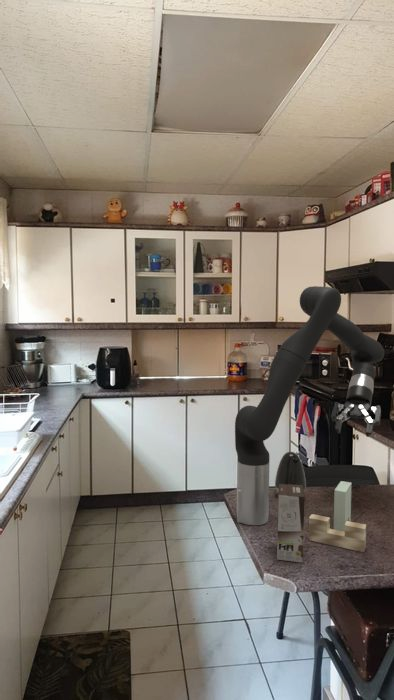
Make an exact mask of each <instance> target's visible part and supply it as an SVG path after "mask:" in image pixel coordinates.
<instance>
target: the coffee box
mask: <svg viewBox="0 0 394 700" xmlns="http://www.w3.org/2000/svg"><path fill="white" fill-rule="evenodd" d="M277 493H278V494H277V527H276V529H277V531H276V532H277V534H276V535H277V537H276V542H277V543H276V559H277V560H279V561H287V562H294V563H303V562H304V561H303V557H304V539H305V538H304V537H305V536H304V534H305V502H306V501H305V498H306V497H305V496H306V495H305V490H304V487H303V485H292V484H287V485H286V484H279V491H278V492H277Z"/></svg>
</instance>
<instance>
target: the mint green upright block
mask: <svg viewBox="0 0 394 700" xmlns="http://www.w3.org/2000/svg"><path fill="white" fill-rule="evenodd" d="M333 493H334V495H333V497H334V498H333V504H334V505H333V529H334V530H339V531H344V532H345V524H346V522H347V521H350V522H352V520H351V517H352V516H351V515H352V482H351V481H350V482H349V481H342V480H340V482H339V483H338V484H337V486H336V487H335V489H334V492H333Z"/></svg>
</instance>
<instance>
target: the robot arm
mask: <svg viewBox="0 0 394 700" xmlns="http://www.w3.org/2000/svg"><path fill="white" fill-rule="evenodd" d="M341 304H342V296H341V293H340V291H339V289H337V288H335V287H330V286H319V285H318V286H317V285H314V286H308V287H306V288H304V289H303V290H302V292H301V294H300V295H299V306H300V308H301V310H302V311H303V313H305V315H307V316H309V318H308V320H307V321H306V322H305V324H304V325H303V326H302V327H300V328H299V329H298V330H297V331H296V332H294V333H292V334H291V335H290V336H289V337H288V338H287V339H286V340H284V341H283V343H281V345H280V346H279V348H278V350H277V351H276V353H275V355H274V357H273V358H272V361H271V363H270V366H269V372H268V381H267V382H268V383H267V386H266V389H265V393H264V394H263V397H262V398H261V400H260V402H259V403H258V405H256V406H255V405H245V406H243V407H241V408H240V410H238V412H237V414H236V417H235V421H234V442H235V443H234V445H235V450H236V456H237V484H236V522H237V523H239V524H240V523H241V524H244V525H248V526H261V525H265V524H266V523H268V522H269V514H270V513H269V508H270V507H269V505H270V501H269V500H270V498H269V497H270V495H269V494H270V492H269V491H270V460H271V459H270V453H269V451H268V450H267V448H266V445H265V441H266V440H267V439H269V438H270V437H271V436H272V434H273V433H274V432H275V430H276V427H277V425H278V422H279V421H280V418H281V416H282V413H283V410H284V408H285V405H286V403H287V401H288V399H289V397H290V395H291V394H292V392H293V390H294V387H295V385H296V383H297V382H298V380H299V378H300V376H301V375H302V373H303V371H304V369H305V368H306V366H307V363H309V362H308V361H309V359H310V358H311V356H312V354H313V352H314V350H315V349H316V347H317V345H318V343H319V341H320V339H321V338H322V336H323V335H324V333H325V331H326V330H328V331H330V332H331V333H332V334H333V335H334V336H335V337H336V338H337V339H338V340H339V341H340V342H341V343H342V344H343V345H344V346H345V347H346V348H347V349H348V350H349V351H351V352H350V355H351V362H352V375H351V378H350V382H349V384H348V389H347V394H346V399H345V403H343V404H341V403H339V401H336V402H334V404H333V408H332V412H331V415H330V417H331V421H332V422H335V427H334V428H335V432H336V433H337V434H341V430H342V426H343V422H345V421H348V420H349V419H352V420H353V419H357V420H362V419H364V422H365V423H366V429H365V436H366V437H367V438H369V437H370V436H372V435H373V428H374V427H375V426H377V427H379V426H381V417H382V410H381V405H379V404H378V405H376V406H372V401H373V394H374V382H375V376H376V368H375V366H374V365H373V364H374V363H378V362H381V361H382V360H383V359H384V357H385V350H384V347H383V346H382V344H381V343H380V342H379V341H378V340H376V339H374V338H372V337H370V336H369V335H367V334H365V333H364V332H363V331H362V330H361V329H360V328H359V326H358V325H356V323H354V322H352V321H351V320H350V319H348V318H347V317H345V316H343V315H341V314H340V313H338V312H339V310H340V307H341ZM342 409H343V410H342ZM340 412H341V413H340ZM372 412H373V414H374V415H375V418H374V419H372V417H371V416H370V413H372ZM339 413H340V414H339Z"/></svg>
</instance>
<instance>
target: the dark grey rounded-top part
mask: <svg viewBox="0 0 394 700" xmlns="http://www.w3.org/2000/svg"><path fill="white" fill-rule="evenodd" d="M276 469H277V470H276V474H275V479H274V486H275V489H276V491H277V493H278V491H279V484H286V485H287V484H292V485H303V487H304V491H305V490H306V487H307V481H306V475H305V470H304V466H303V462H302V460H301V458H300V457H299V455H298V454H297V453H296V452H294V451H287V452H285V453H284V454H283V455H282V457H281V459H280V461H279V464H278V466H277V468H276Z"/></svg>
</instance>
